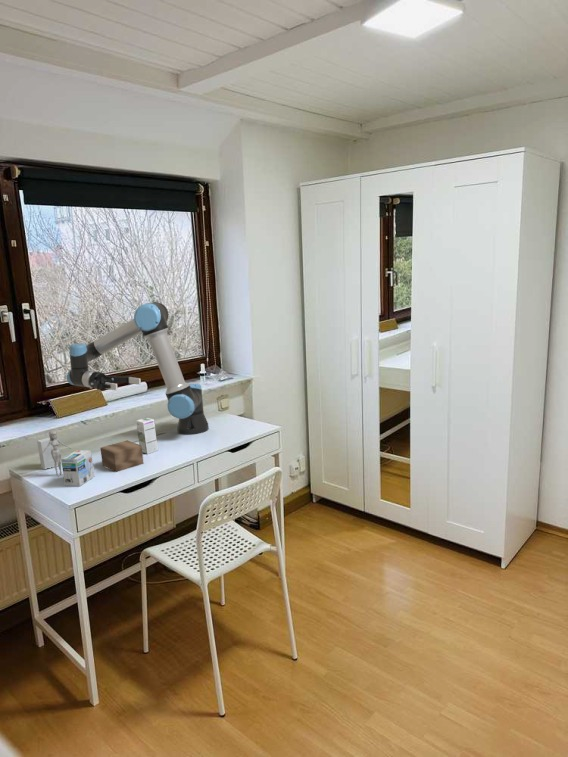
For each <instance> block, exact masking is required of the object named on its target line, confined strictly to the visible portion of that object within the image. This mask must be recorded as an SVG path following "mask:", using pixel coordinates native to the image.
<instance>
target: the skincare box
mask: <svg viewBox="0 0 568 757" xmlns="http://www.w3.org/2000/svg"><path fill="white" fill-rule="evenodd" d="M49 441H50V436H49V437H46V438H42V439H39V440H37V441H36V443H37V450H38V455H39V460H40V466H41V469H42V470H44V469H46V468H50V469H52V468H51V467H54V468H55V465H54V464H55V462H54V460H53V458H52V455H51V450H52V449H53V446H52V445H51V444H50V445H49V446H48V448H47V449H46V450H45V451H44V449H45V448H46V447H47V445H48V444H49ZM43 451H44V453H43ZM41 453H43V455H41ZM40 455H41V457H40ZM56 463H57V467H59V466H58V462H56Z"/></svg>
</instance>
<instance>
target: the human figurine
mask: <svg viewBox="0 0 568 757" xmlns="http://www.w3.org/2000/svg"><path fill="white" fill-rule="evenodd" d="M48 435H49V437H50V441H49V444H48V445H47V447H46V448H45V449H44V451H45V450H46V449H47V448H48V446H49V445H50V444H51V445H52V446H53V449H52V450H51V455H52V458H53V460H54V462H55V464H54V465H55V467H54V471H55V475H57V476H59V477H60V476H61V475H63V471H62V461H61V459H62V453H61V449H60V447H59V445H60V444H61V445H62V446H64V447H67V449H70V450H71V449H72V448H71V447H70V446H68V445H66V444H65V443H64V442H62V441H61V440H60V439H59V438H58V436H57V431H56V430H50V431H49V432H48ZM44 451H43V453H44ZM43 453H41V455H43ZM41 455H40V456H39V458H40V457H41ZM56 462H58V466H57V463H56ZM58 470H59V473H58ZM57 476H56V477H57ZM63 476H64V475H63Z"/></svg>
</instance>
